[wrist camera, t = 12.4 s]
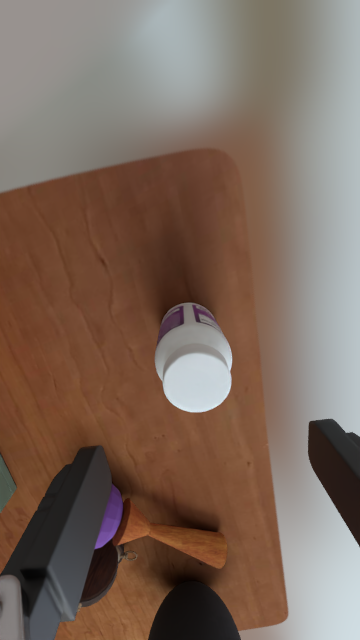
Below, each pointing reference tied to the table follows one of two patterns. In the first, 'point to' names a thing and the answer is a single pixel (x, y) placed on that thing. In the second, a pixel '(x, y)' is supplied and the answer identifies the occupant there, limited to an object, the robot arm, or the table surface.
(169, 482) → the table surface
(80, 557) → the robot arm
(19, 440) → the table surface
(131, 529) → the kendama
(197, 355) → the pill bottle
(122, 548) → the compass
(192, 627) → the decorative egg
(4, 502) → the trash can
